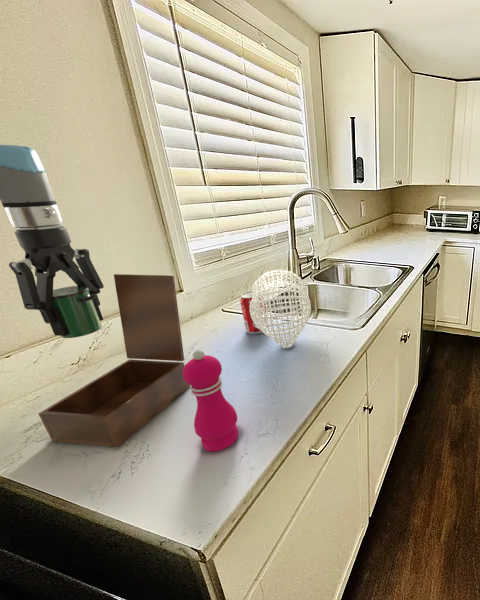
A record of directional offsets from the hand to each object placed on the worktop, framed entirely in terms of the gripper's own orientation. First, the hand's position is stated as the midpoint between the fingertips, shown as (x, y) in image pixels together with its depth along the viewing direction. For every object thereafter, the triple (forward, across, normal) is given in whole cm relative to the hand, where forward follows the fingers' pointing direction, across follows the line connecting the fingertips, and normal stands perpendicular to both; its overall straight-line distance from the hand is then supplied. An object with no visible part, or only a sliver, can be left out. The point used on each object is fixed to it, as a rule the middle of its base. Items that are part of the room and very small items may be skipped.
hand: (80, 326), depth 76 cm
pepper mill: (+16, -14, -41) cm, 46 cm away
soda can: (+16, +33, -23) cm, 43 cm away
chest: (+16, -8, -15) cm, 23 cm away
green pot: (+1, 0, 0) cm, 1 cm away
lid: (-1, +3, -15) cm, 15 cm away
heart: (+16, +23, -38) cm, 47 cm away
